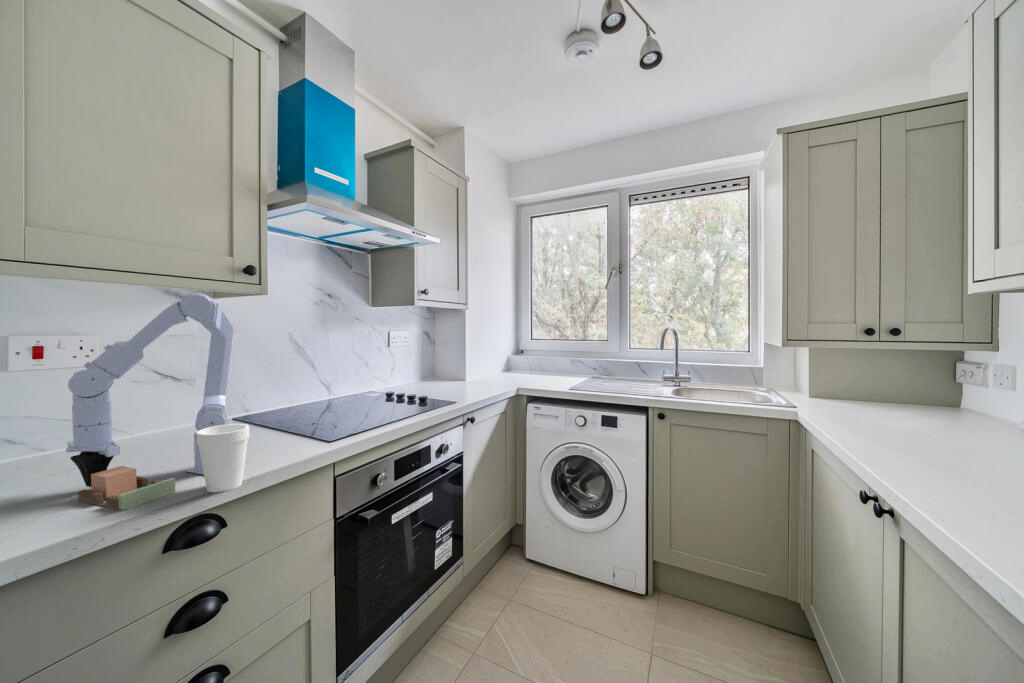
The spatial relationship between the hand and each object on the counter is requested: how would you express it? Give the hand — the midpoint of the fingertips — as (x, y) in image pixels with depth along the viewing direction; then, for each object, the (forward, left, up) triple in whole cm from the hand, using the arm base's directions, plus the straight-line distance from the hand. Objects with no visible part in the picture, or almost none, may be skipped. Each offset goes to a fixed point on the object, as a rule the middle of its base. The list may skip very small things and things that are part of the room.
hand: (94, 485), depth 83 cm
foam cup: (-10, +26, -1) cm, 27 cm away
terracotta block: (0, +7, -1) cm, 7 cm away
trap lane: (0, +12, -1) cm, 12 cm away
